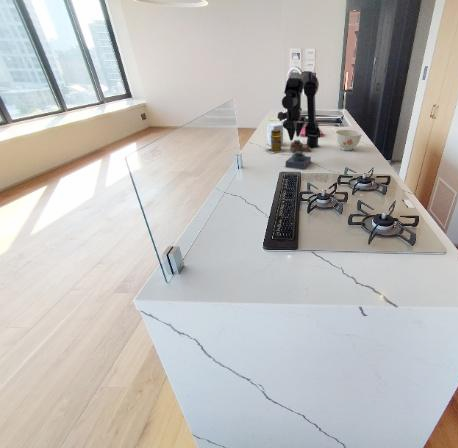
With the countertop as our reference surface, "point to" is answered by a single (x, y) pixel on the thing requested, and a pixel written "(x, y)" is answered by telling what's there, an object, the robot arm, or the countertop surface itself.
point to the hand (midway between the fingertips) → (294, 138)
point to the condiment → (275, 141)
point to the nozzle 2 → (298, 153)
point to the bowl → (348, 138)
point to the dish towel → (304, 132)
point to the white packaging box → (274, 127)
